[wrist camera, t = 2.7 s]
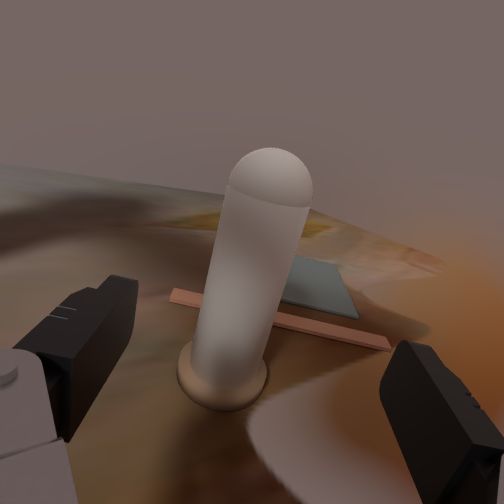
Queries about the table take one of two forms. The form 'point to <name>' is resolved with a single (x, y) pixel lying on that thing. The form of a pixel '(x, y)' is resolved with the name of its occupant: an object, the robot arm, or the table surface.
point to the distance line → (300, 324)
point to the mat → (318, 287)
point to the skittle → (246, 279)
